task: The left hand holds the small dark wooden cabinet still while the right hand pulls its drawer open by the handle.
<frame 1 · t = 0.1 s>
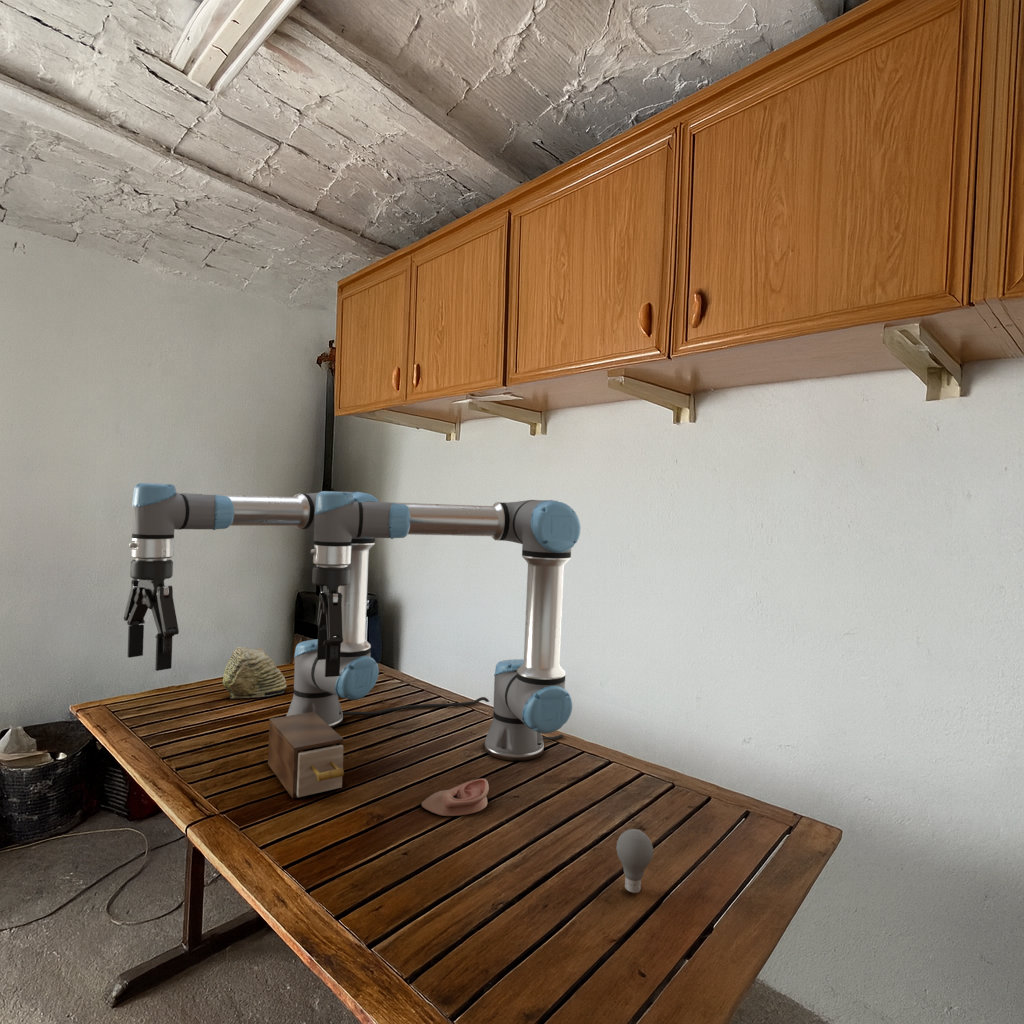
left hand: (148, 662, 129), 28 cm above the table, tool pointing down, fingers open, 13 cm apart
right hand: (327, 667, 132), 28 cm above the table, tool pointing down, fingers open, 13 cm apart
fossil: (254, 694, 198), on the table
drawer: (312, 760, 139), point 5 cm above the table, slide at 0.7 cm
anatomical model: (455, 804, 133), on the table
cabinet: (303, 775, 144), on the table
light bulb: (632, 891, 106), on the table
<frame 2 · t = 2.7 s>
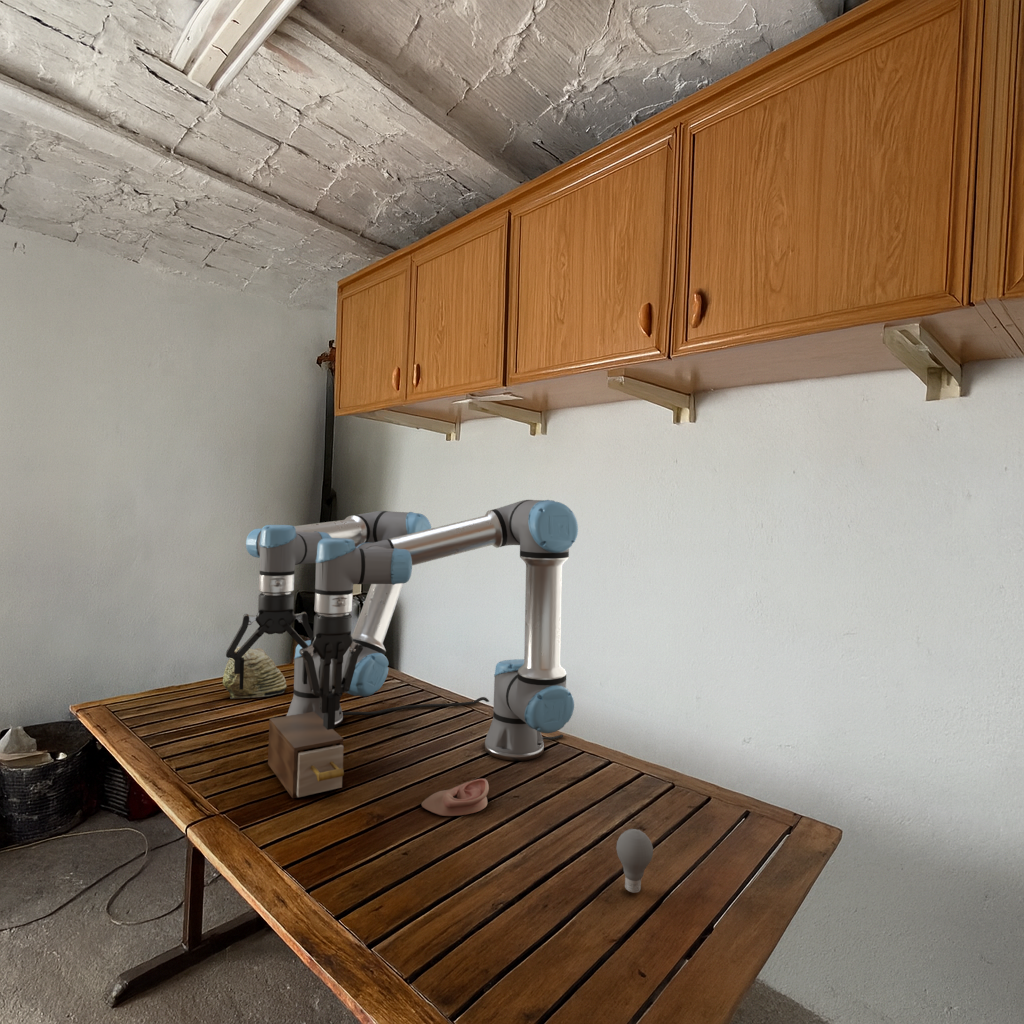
left hand: (273, 685, 145), 20 cm above the table, tool pointing down, fingers open, 13 cm apart
right hand: (328, 726, 131), 16 cm above the table, tool pointing down, fingers closed
nothing on the table moved.
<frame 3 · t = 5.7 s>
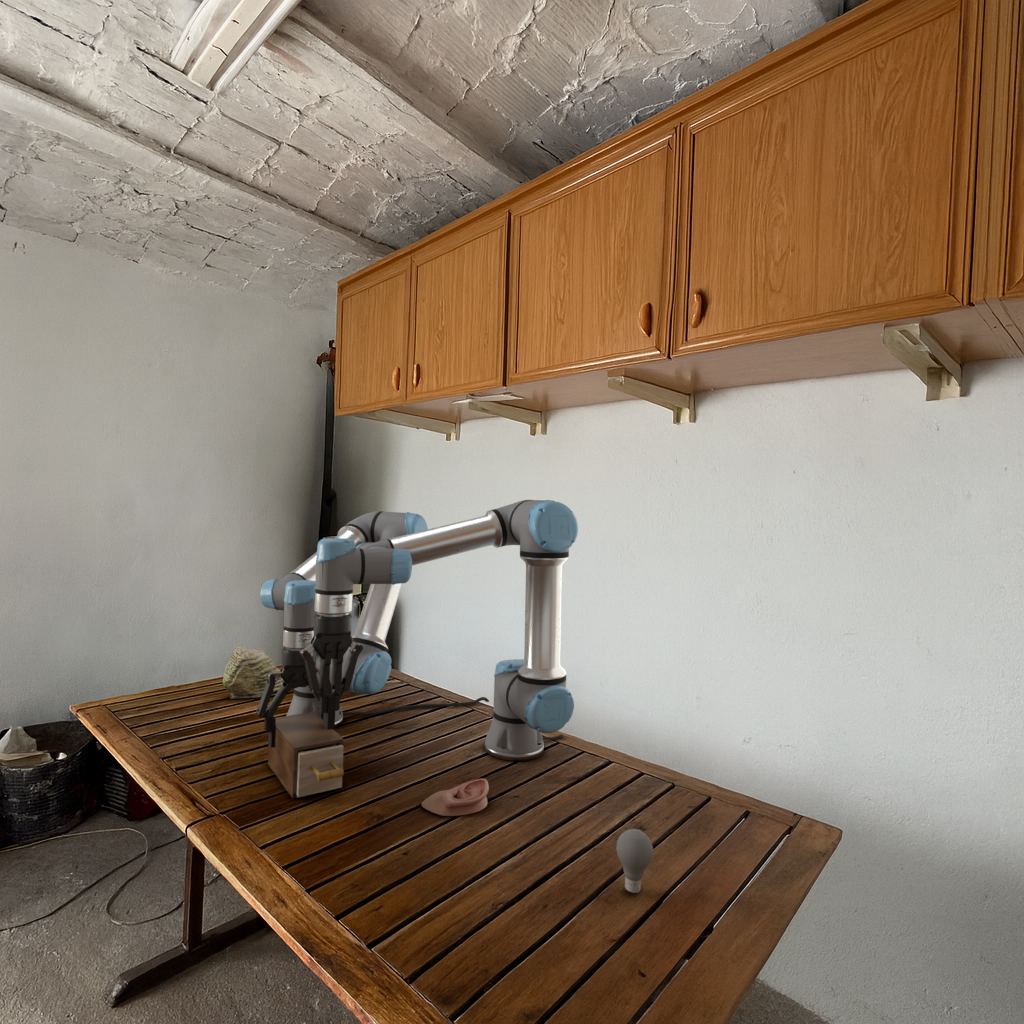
left hand: (296, 740, 148), 6 cm above the table, tool pointing down, fingers closed on cabinet, 10 cm apart
right hand: (328, 726, 131), 16 cm above the table, tool pointing down, fingers closed
cabinet: (303, 775, 144), on the table, touching left hand
everything else where it was.
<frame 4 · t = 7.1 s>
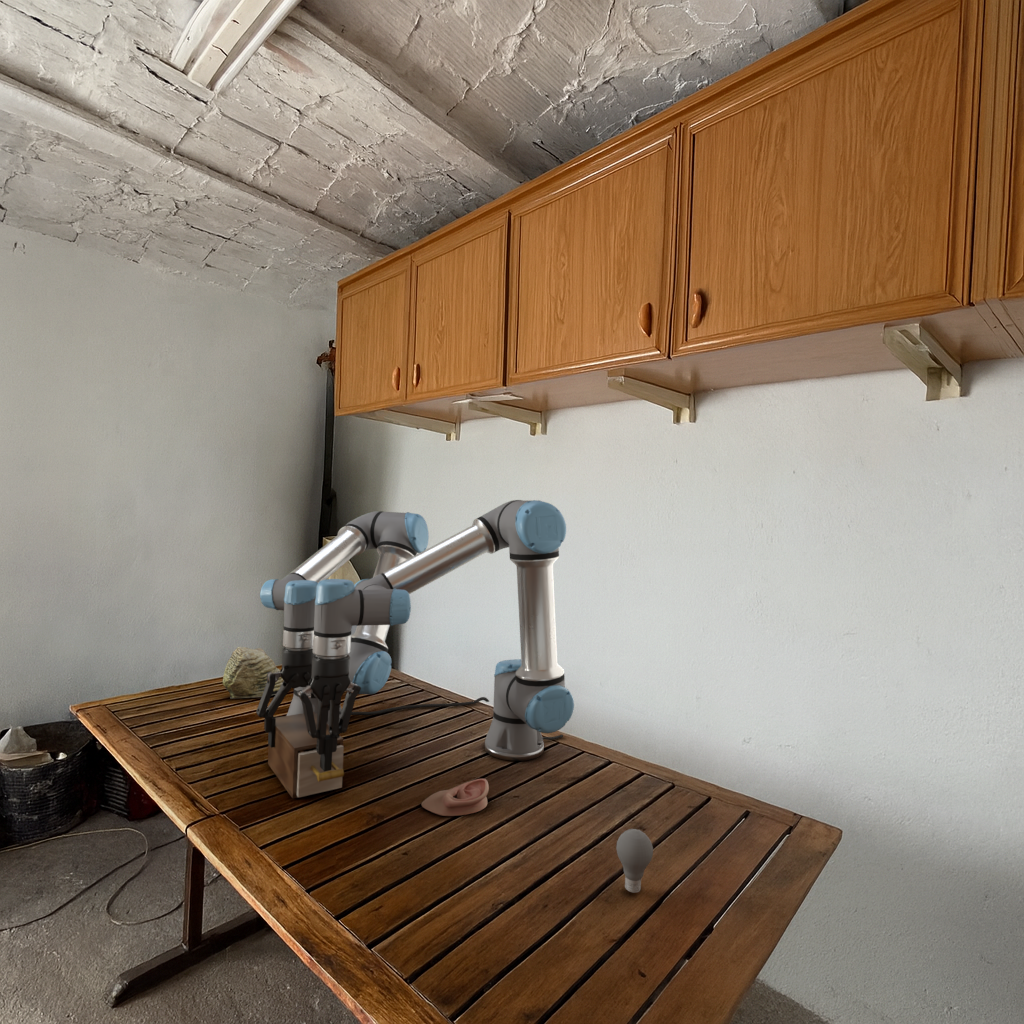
left hand: (296, 740, 148), 6 cm above the table, tool pointing down, fingers closed on cabinet, 11 cm apart
right hand: (325, 768, 131), 7 cm above the table, tool pointing down, fingers closed
drawer: (312, 760, 139), point 5 cm above the table, slide at 0.7 cm, touching right hand
cabinet: (303, 775, 144), on the table, touching left hand
everything else where it was.
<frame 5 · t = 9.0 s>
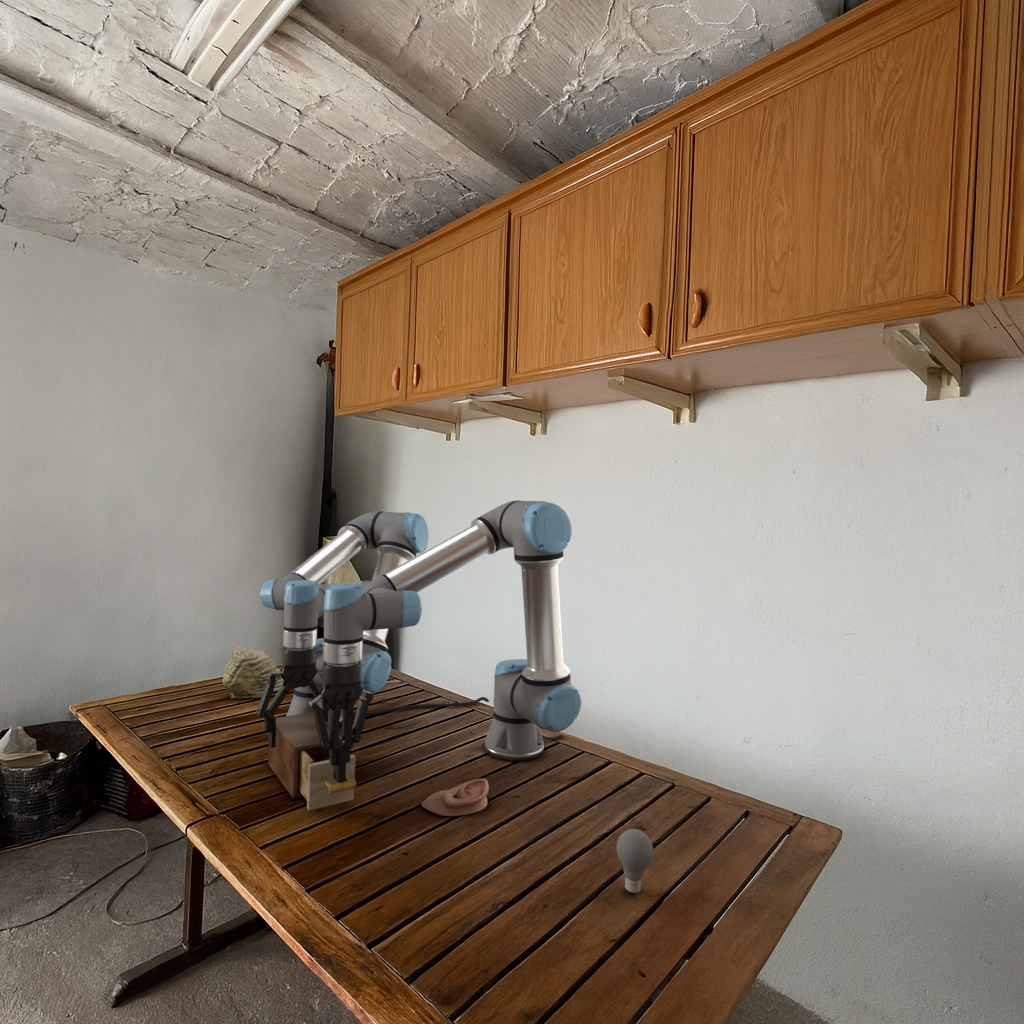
left hand: (296, 741, 148), 6 cm above the table, tool pointing down, fingers closed on cabinet, 11 cm apart
right hand: (339, 779, 126), 7 cm above the table, tool pointing down, fingers closed
drawer: (322, 771, 133), point 5 cm above the table, slide at 7.3 cm
cabinet: (303, 775, 143), on the table, touching left hand
everything else where it was.
when the left hand's fingers open (6 cm above the table, at t = 10.6 s): cabinet stays where it is, on the table.
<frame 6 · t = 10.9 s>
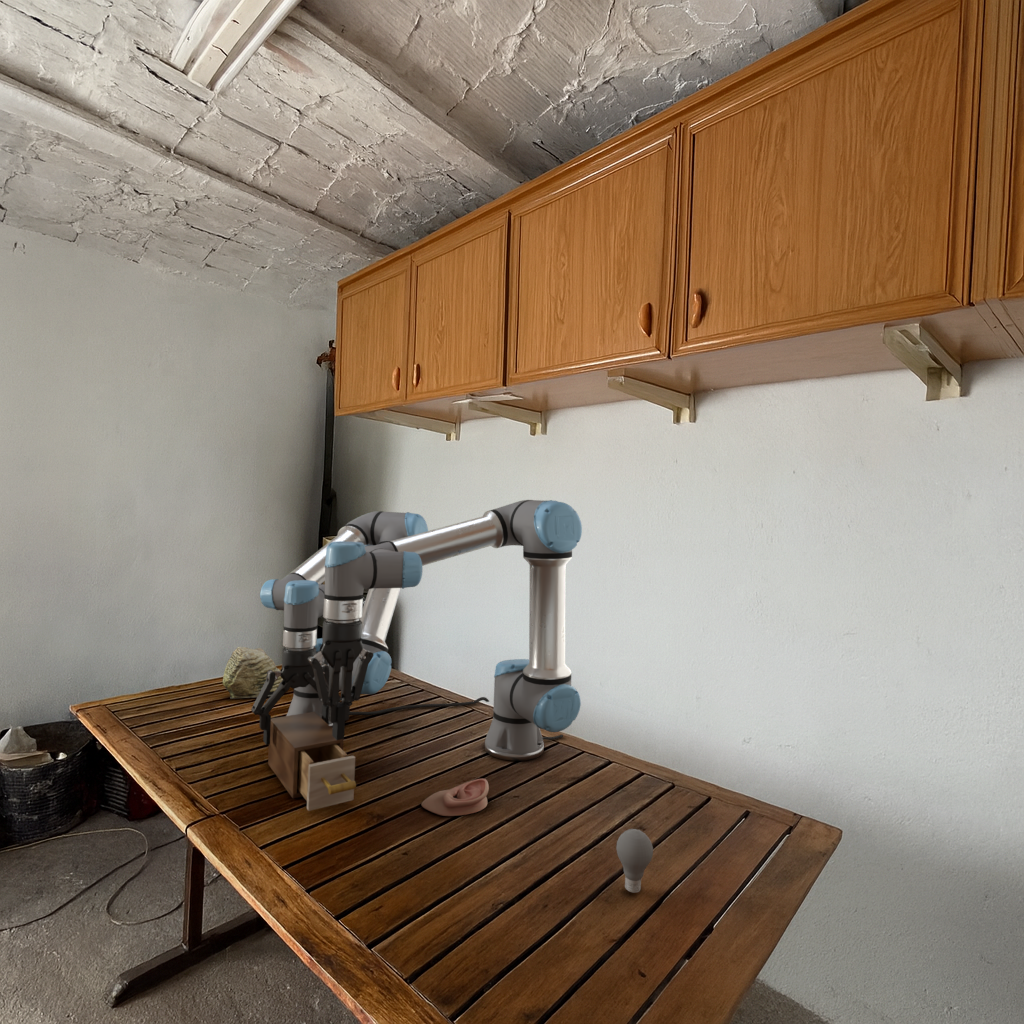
left hand: (296, 737, 148), 7 cm above the table, tool pointing down, fingers open, 13 cm apart
right hand: (338, 737, 126), 16 cm above the table, tool pointing down, fingers closed
cabinet: (303, 775, 144), on the table
everything else where it was.
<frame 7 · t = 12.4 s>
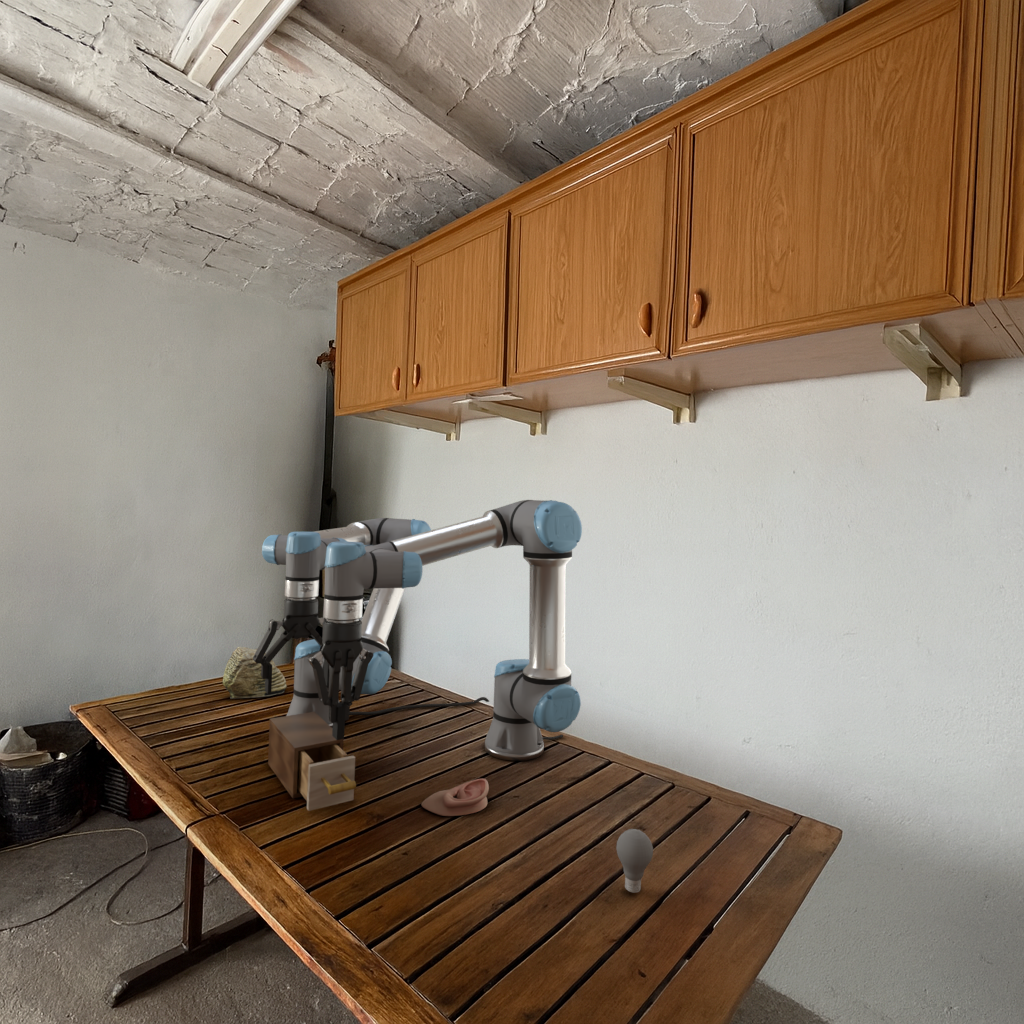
left hand: (298, 688, 148), 18 cm above the table, tool pointing down, fingers open, 13 cm apart
right hand: (338, 737, 126), 16 cm above the table, tool pointing down, fingers closed
nothing on the table moved.
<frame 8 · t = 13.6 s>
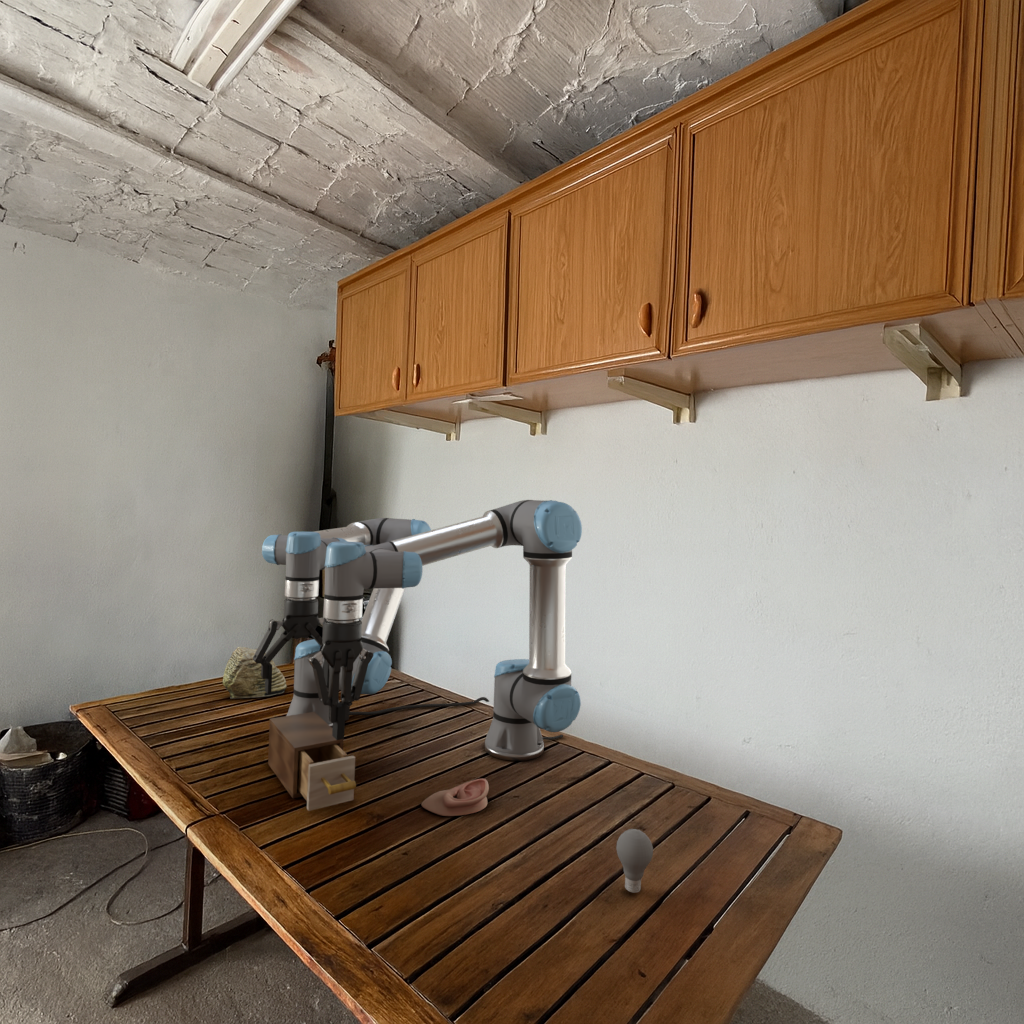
left hand: (298, 688, 148), 18 cm above the table, tool pointing down, fingers open, 13 cm apart
right hand: (338, 737, 126), 16 cm above the table, tool pointing down, fingers closed
nothing on the table moved.
at the end: drawer slide at 7.3 cm; cabinet tilted 0°; cabinet never tilted more than 1° during the clip; cabinet moved 0.1 cm from its start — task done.
